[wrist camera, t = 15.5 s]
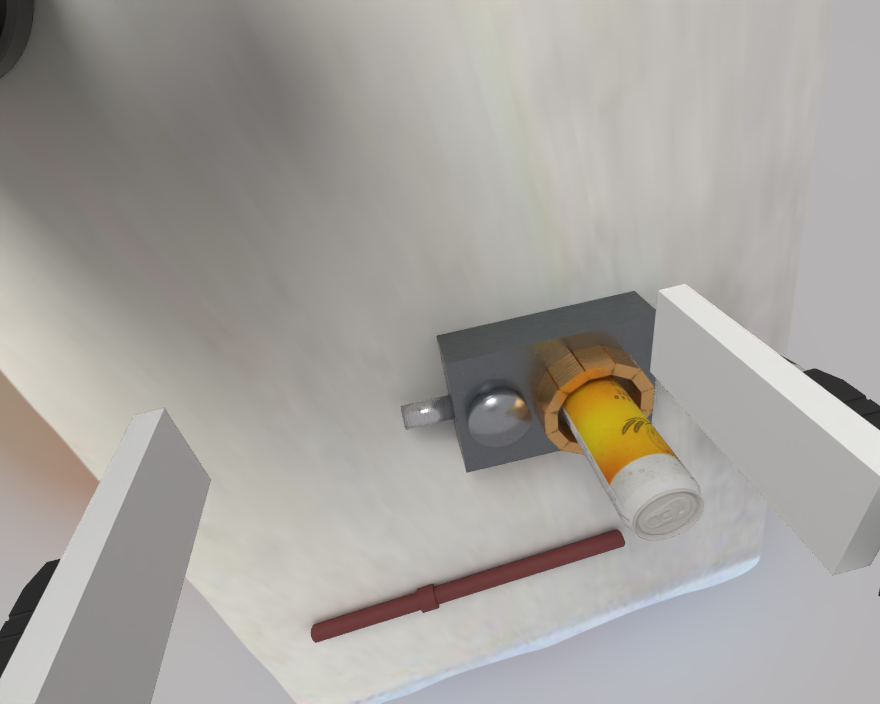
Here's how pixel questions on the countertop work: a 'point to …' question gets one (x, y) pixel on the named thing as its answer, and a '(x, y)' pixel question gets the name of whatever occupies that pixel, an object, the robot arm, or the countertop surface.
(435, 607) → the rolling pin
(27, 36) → the robot arm
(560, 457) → the countertop surface
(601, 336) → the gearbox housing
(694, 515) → the beer can
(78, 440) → the countertop surface
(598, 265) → the countertop surface
